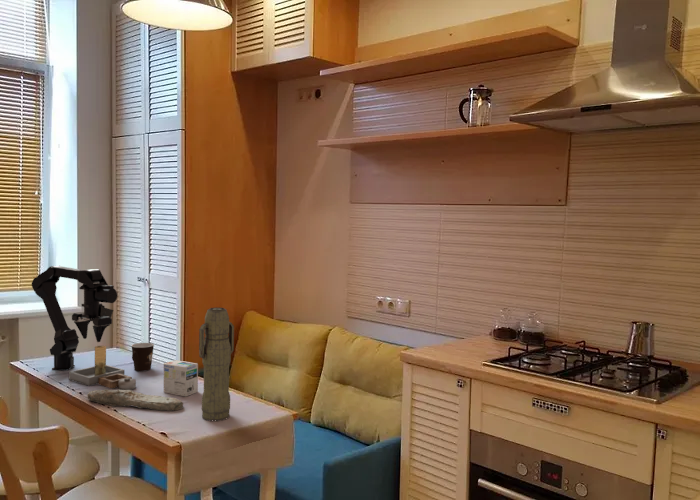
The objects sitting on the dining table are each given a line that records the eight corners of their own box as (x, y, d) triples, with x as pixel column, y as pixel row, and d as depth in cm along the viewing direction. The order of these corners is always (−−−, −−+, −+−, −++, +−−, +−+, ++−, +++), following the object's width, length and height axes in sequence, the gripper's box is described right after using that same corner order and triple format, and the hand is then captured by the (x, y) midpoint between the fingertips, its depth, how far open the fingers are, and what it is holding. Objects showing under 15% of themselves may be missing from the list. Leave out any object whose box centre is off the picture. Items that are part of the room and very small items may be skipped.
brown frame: (98, 384, 231) (98, 375, 230) (118, 379, 237) (118, 371, 237) (122, 391, 222) (122, 383, 222) (142, 386, 229) (142, 378, 229)
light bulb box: (198, 392, 225) (198, 362, 224) (186, 397, 218) (186, 367, 218) (175, 387, 229) (175, 359, 228) (162, 392, 223) (162, 363, 222)
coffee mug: (145, 365, 259) (145, 341, 258) (158, 369, 254) (158, 344, 253) (120, 370, 250) (120, 346, 249) (133, 374, 245) (133, 349, 244)
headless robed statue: (239, 415, 201) (240, 308, 199) (210, 424, 192) (211, 312, 190) (221, 409, 207) (222, 305, 204) (192, 417, 198) (193, 309, 195)
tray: (69, 379, 236) (69, 371, 235) (104, 371, 248) (104, 364, 248) (89, 385, 228) (89, 377, 228) (124, 377, 241) (124, 369, 240)
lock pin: (92, 378, 235) (92, 347, 235) (97, 376, 239) (98, 345, 238) (102, 379, 235) (103, 348, 234) (107, 376, 239) (108, 345, 238)
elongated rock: (173, 418, 201) (188, 410, 210) (174, 402, 201) (189, 395, 210) (79, 402, 209) (97, 395, 218) (80, 387, 208) (98, 380, 218)
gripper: (124, 301, 245) (124, 340, 246) (96, 296, 256) (96, 333, 257) (98, 304, 236) (98, 345, 237) (70, 299, 247) (71, 338, 248)
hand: (91, 340), depth 245 cm, fingers open, 9 cm apart
